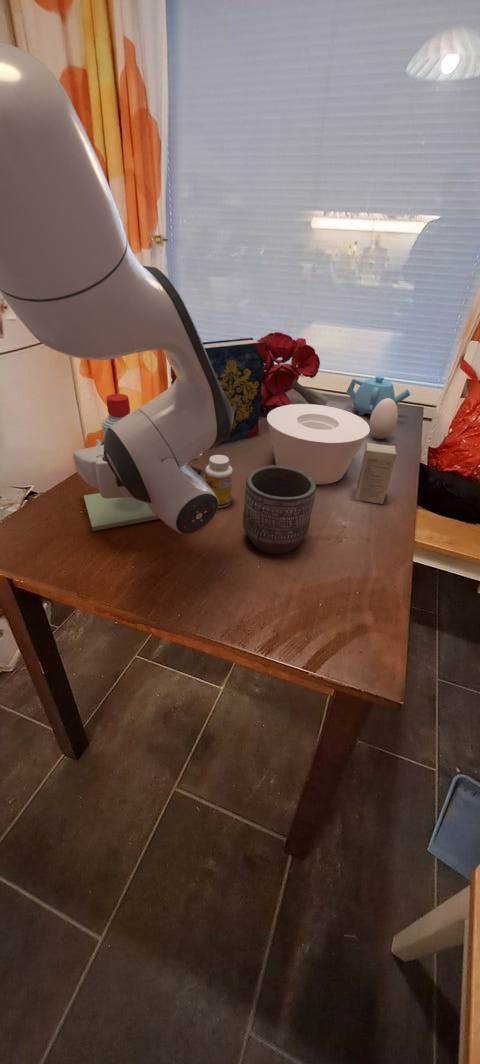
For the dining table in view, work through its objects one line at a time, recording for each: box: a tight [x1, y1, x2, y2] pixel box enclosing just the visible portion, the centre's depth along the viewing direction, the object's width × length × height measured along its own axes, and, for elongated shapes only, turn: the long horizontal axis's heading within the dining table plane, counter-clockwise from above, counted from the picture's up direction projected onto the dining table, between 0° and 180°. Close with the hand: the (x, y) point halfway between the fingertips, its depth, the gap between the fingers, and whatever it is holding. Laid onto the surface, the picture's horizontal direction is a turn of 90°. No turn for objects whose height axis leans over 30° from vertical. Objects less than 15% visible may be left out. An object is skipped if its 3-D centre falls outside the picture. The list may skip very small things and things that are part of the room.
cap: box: [105, 393, 131, 417], centre depth 73 cm, size 4×4×3 cm
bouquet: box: [256, 331, 329, 412], centre depth 133 cm, size 22×24×30 cm
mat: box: [83, 492, 161, 532], centre depth 85 cm, size 16×12×1 cm
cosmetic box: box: [354, 442, 397, 505], centre depth 91 cm, size 6×4×12 cm
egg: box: [368, 398, 399, 440], centre depth 120 cm, size 7×7×12 cm
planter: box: [242, 464, 317, 555], centre depth 76 cm, size 12×12×13 cm
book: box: [170, 337, 266, 446], centre depth 108 cm, size 25×7×25 cm, turn 126°
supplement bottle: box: [204, 454, 234, 509], centre depth 86 cm, size 6×6×10 cm
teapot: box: [346, 375, 411, 416], centre depth 137 cm, size 20×17×12 cm
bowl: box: [266, 403, 371, 485], centre depth 102 cm, size 24×24×12 cm
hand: (120, 438), depth 78 cm, fingers closed on bottle, 6 cm apart
